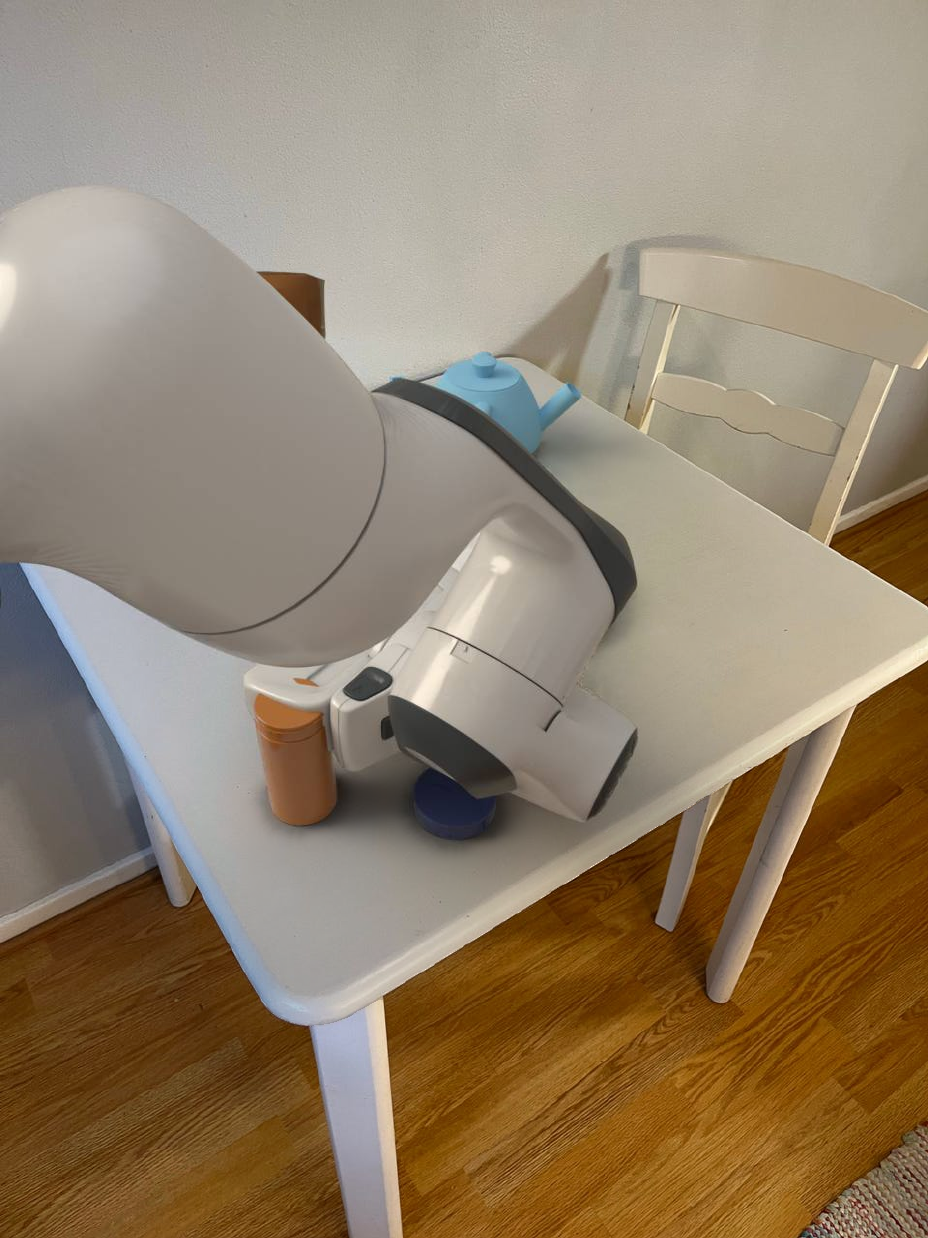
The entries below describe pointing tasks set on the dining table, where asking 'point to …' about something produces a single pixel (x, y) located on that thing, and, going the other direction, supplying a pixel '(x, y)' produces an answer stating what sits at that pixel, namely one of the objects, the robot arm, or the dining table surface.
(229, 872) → the dining table surface
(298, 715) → the jar
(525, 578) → the robot arm
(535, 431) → the teapot
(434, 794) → the jar lid
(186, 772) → the dining table surface
